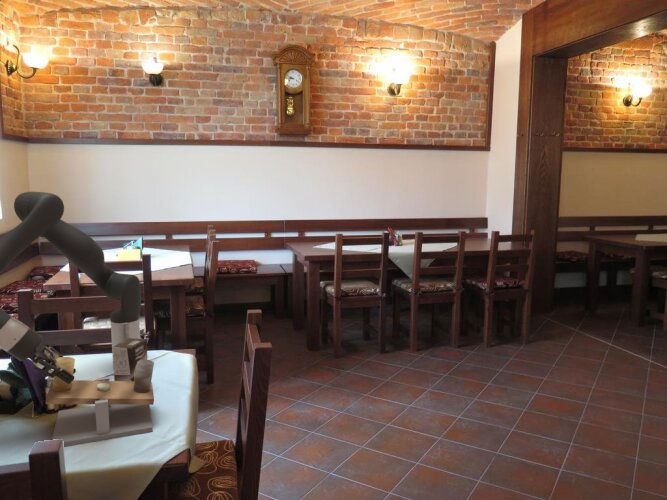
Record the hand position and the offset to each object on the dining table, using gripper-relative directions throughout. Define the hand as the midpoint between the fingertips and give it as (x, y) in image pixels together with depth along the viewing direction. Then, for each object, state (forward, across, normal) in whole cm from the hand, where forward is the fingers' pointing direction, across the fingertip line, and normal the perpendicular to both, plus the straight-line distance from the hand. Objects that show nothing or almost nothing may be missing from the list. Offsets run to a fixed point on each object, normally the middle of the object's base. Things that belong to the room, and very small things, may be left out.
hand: (72, 376), depth 139 cm
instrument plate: (+9, 0, -1) cm, 9 cm away
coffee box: (+21, +18, 0) cm, 28 cm away
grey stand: (+15, 0, +5) cm, 16 cm away
